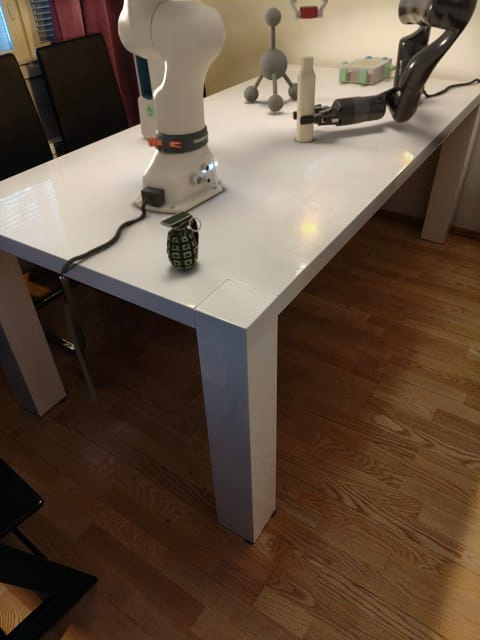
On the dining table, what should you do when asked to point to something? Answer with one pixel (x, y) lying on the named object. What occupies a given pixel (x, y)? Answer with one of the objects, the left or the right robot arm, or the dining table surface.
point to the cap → (309, 12)
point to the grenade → (182, 240)
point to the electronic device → (148, 92)
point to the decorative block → (366, 70)
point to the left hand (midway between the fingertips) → (308, 18)
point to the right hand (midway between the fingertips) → (297, 118)
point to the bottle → (305, 98)
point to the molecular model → (272, 67)
